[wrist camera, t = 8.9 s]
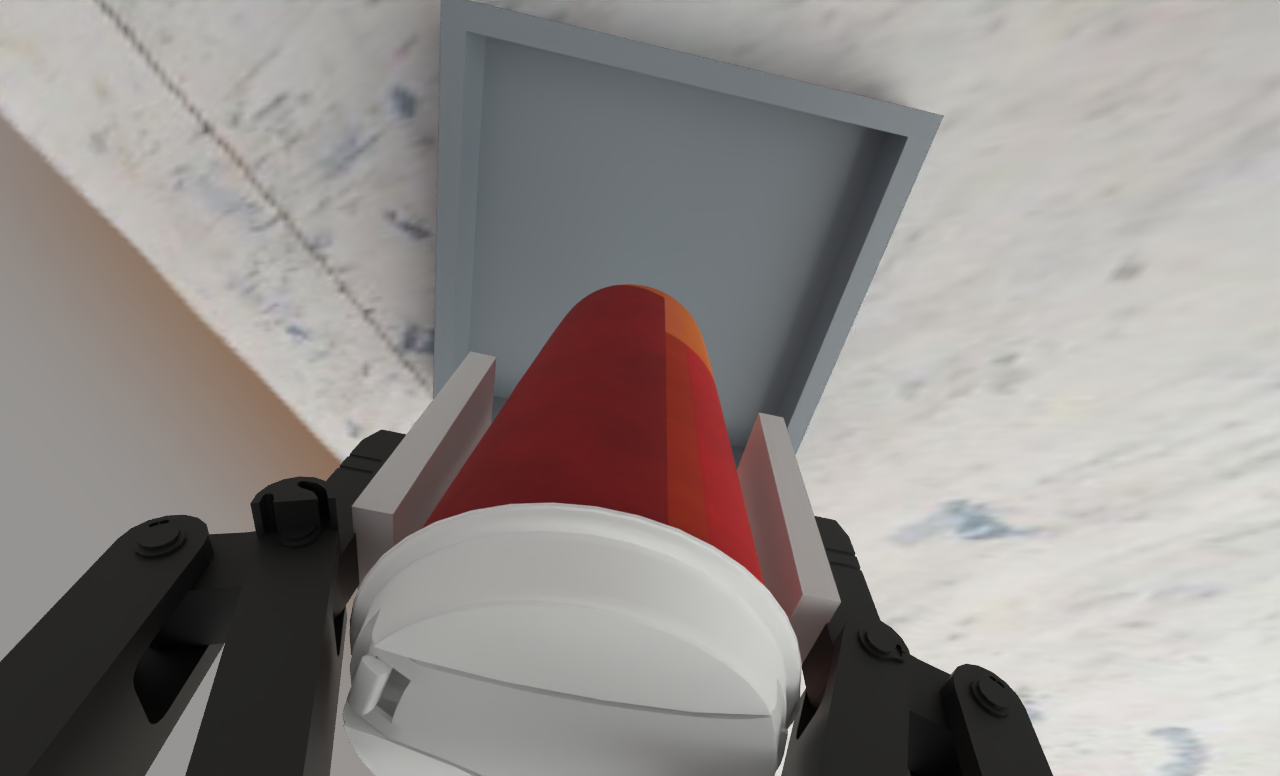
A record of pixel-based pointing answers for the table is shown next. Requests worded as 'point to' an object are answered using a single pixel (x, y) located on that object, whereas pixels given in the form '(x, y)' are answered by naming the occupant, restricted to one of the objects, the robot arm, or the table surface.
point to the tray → (658, 202)
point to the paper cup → (582, 580)
